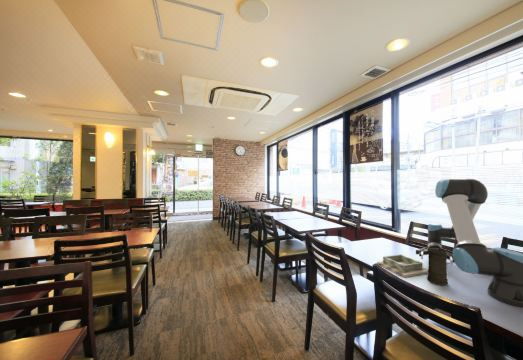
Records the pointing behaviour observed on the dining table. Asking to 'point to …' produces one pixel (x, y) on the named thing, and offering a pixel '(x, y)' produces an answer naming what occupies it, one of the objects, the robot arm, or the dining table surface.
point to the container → (437, 266)
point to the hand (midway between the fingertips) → (436, 259)
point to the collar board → (403, 265)
